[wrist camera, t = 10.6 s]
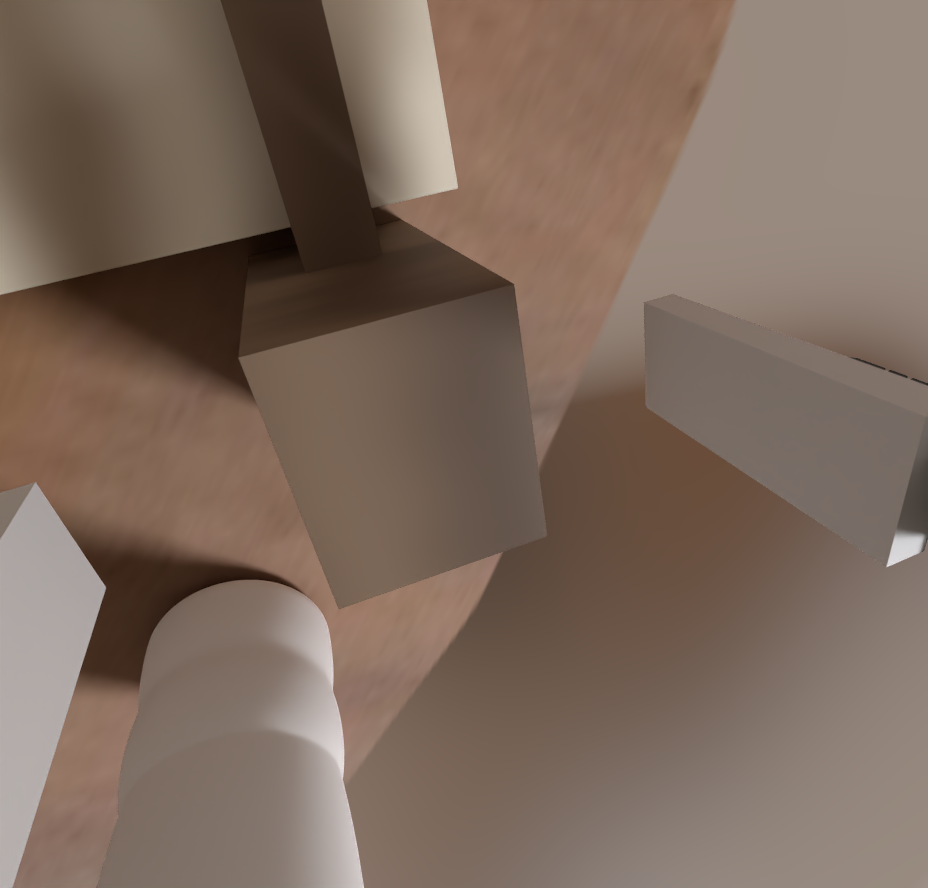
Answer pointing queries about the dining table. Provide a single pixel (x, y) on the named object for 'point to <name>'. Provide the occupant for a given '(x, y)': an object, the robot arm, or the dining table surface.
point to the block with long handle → (375, 345)
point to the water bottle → (235, 751)
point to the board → (183, 128)
